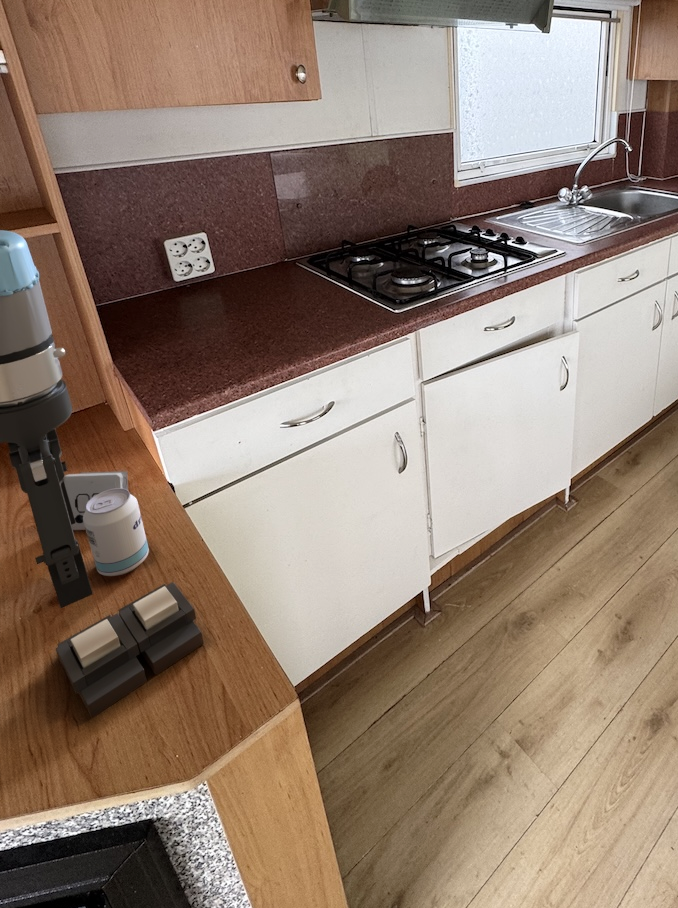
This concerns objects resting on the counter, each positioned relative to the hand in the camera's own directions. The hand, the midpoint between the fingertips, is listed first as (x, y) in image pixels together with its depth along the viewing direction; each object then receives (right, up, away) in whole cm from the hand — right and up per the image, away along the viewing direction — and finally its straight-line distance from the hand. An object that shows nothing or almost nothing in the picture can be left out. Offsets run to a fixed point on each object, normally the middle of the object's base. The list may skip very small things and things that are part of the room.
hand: (68, 560), depth 64 cm
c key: (-3, -15, +9) cm, 17 cm away
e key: (+2, -13, +14) cm, 19 cm away
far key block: (+2, -17, +15) cm, 22 cm away
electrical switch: (-21, -9, +35) cm, 42 cm away
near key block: (-3, -18, +10) cm, 21 cm away
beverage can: (-11, -12, +26) cm, 31 cm away
